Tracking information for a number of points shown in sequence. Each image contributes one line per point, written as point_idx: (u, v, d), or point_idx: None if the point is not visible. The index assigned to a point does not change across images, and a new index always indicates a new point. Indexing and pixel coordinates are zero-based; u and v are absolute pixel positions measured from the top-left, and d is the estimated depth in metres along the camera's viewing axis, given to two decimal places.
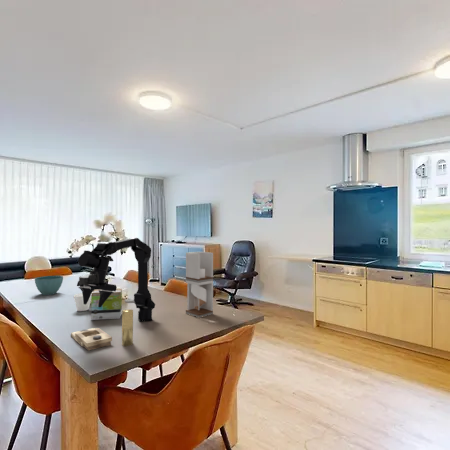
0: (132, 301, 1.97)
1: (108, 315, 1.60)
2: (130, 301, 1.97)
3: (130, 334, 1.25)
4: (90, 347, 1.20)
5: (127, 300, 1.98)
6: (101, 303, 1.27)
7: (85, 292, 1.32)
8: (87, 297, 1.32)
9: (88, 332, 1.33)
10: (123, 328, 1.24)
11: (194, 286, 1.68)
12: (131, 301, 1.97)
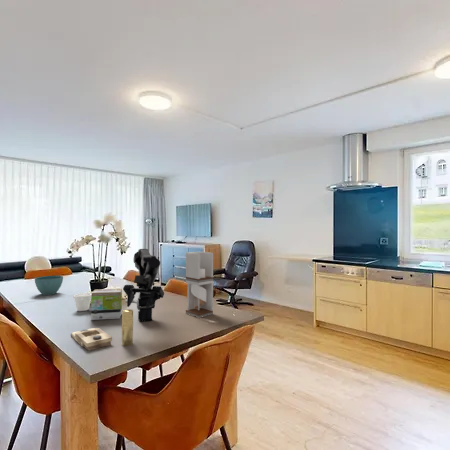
0: (132, 301, 1.97)
1: (108, 315, 1.60)
2: None
3: (130, 334, 1.25)
4: (90, 347, 1.20)
5: None
6: (149, 304, 1.34)
7: (130, 295, 1.38)
8: (130, 301, 1.38)
9: (88, 332, 1.33)
10: (123, 328, 1.24)
11: (194, 286, 1.68)
12: None
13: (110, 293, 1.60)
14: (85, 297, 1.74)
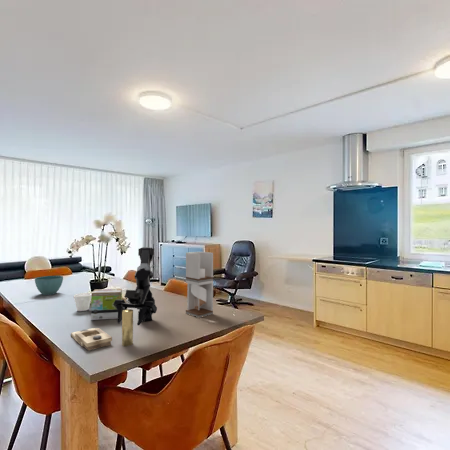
0: None
1: (108, 315, 1.60)
2: None
3: (130, 334, 1.25)
4: (90, 347, 1.20)
5: None
6: (140, 321, 1.26)
7: (121, 311, 1.30)
8: (121, 317, 1.30)
9: (88, 332, 1.33)
10: (123, 328, 1.24)
11: (194, 286, 1.68)
12: None
13: (110, 293, 1.60)
14: (85, 297, 1.74)
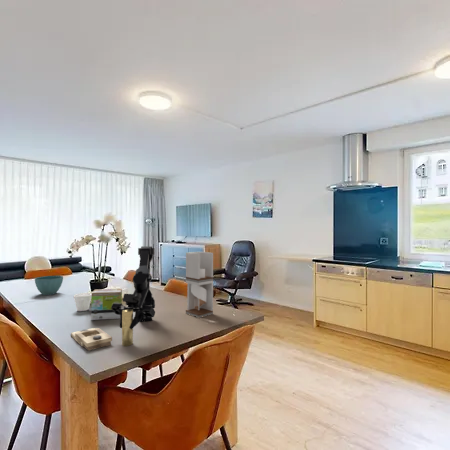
0: None
1: (108, 315, 1.60)
2: None
3: (130, 334, 1.25)
4: (90, 347, 1.20)
5: None
6: (133, 325, 1.25)
7: None
8: None
9: (88, 332, 1.33)
10: (123, 328, 1.24)
11: (194, 286, 1.68)
12: None
13: (110, 293, 1.61)
14: (85, 297, 1.74)
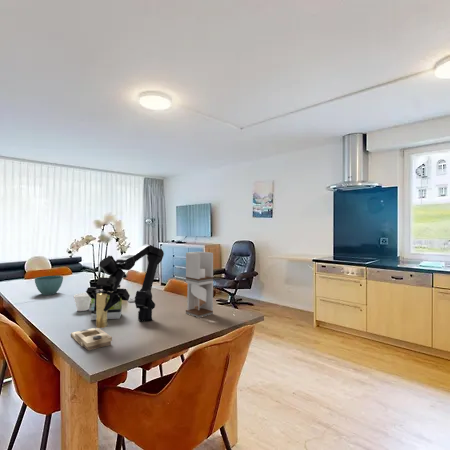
0: (134, 301, 1.97)
1: (108, 315, 1.60)
2: (132, 301, 1.97)
3: (104, 316, 1.28)
4: (90, 347, 1.20)
5: (129, 300, 1.98)
6: (107, 307, 1.28)
7: None
8: None
9: (88, 332, 1.33)
10: (97, 310, 1.27)
11: (194, 286, 1.68)
12: (133, 301, 1.97)
13: None
14: (85, 297, 1.74)
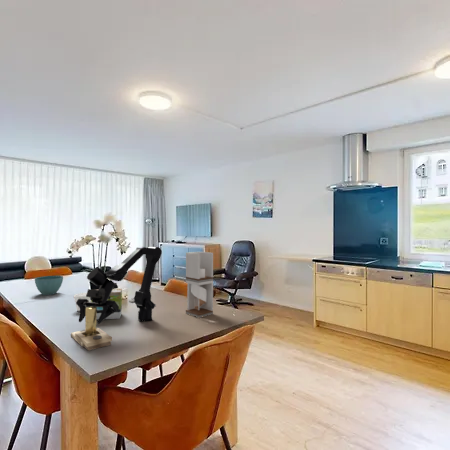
0: None
1: None
2: (133, 301, 1.97)
3: (93, 330, 1.29)
4: (90, 347, 1.20)
5: (130, 300, 1.98)
6: (101, 319, 1.29)
7: (83, 310, 1.33)
8: (83, 316, 1.33)
9: None
10: (86, 324, 1.29)
11: (194, 286, 1.68)
12: None
13: None
14: (85, 297, 1.74)
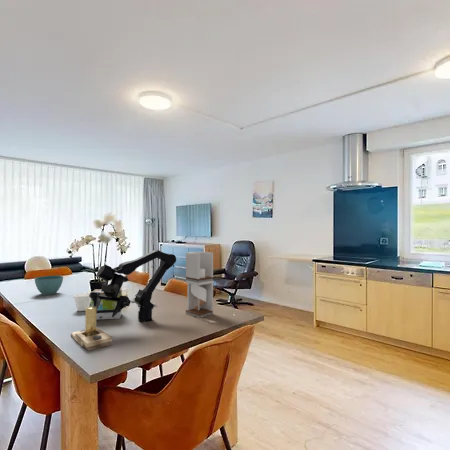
0: None
1: (108, 315, 1.60)
2: (134, 301, 1.97)
3: (93, 330, 1.29)
4: (90, 347, 1.20)
5: (131, 300, 1.98)
6: (115, 313, 1.40)
7: (96, 303, 1.42)
8: None
9: None
10: (86, 324, 1.29)
11: (194, 286, 1.68)
12: None
13: None
14: (85, 297, 1.74)
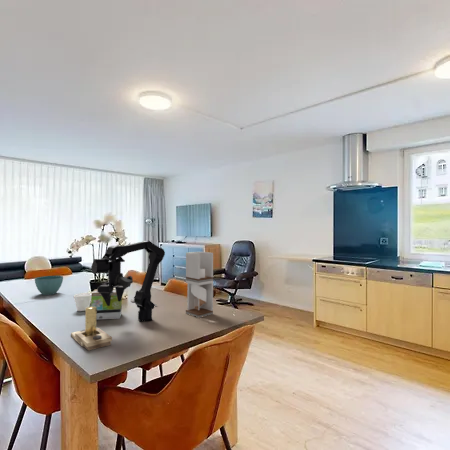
0: None
1: (108, 315, 1.60)
2: None
3: (93, 330, 1.29)
4: (90, 347, 1.20)
5: (132, 300, 1.98)
6: None
7: None
8: None
9: None
10: (86, 324, 1.29)
11: (194, 286, 1.68)
12: None
13: None
14: (85, 297, 1.74)
